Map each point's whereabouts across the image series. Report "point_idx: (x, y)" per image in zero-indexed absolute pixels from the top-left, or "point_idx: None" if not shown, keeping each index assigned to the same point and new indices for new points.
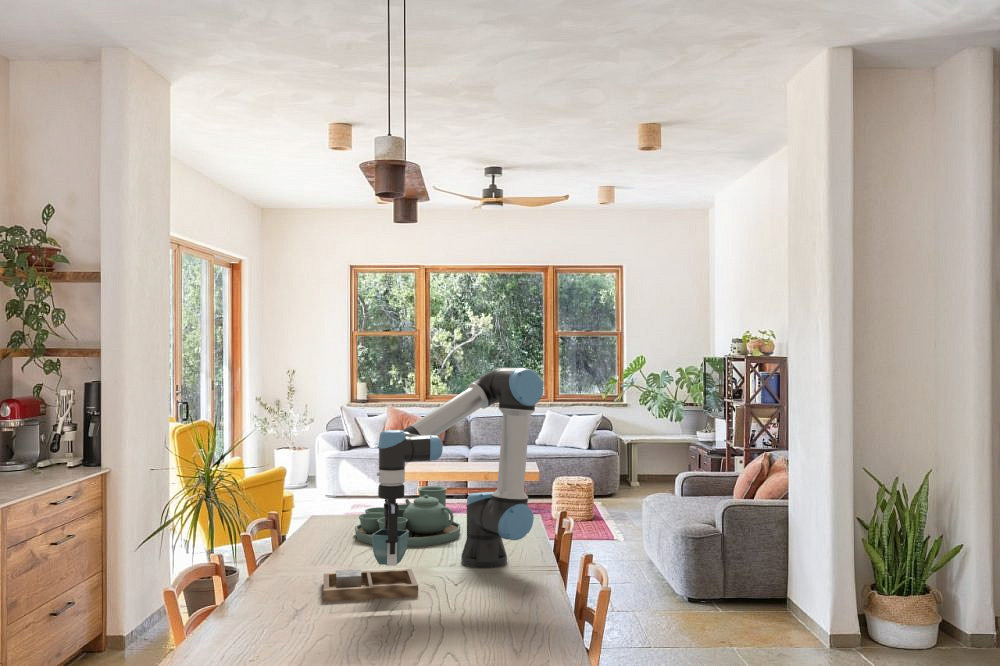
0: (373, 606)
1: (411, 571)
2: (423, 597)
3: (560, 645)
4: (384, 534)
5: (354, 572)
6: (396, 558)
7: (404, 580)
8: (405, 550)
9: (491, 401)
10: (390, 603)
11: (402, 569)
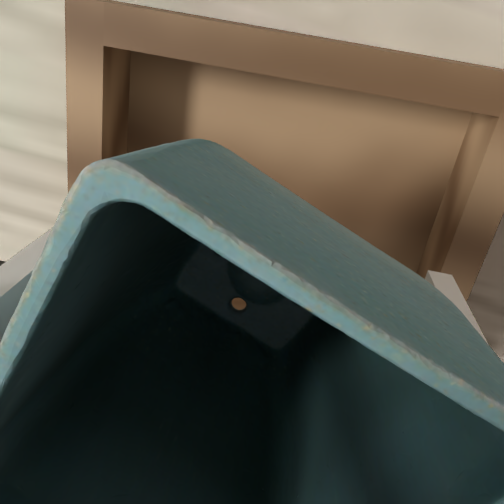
0: (492, 329)
1: (141, 18)
2: (484, 17)
3: None
4: (9, 422)
5: None
6: (469, 311)
7: (130, 61)
8: (238, 157)
9: None
10: (491, 244)
11: (69, 74)
